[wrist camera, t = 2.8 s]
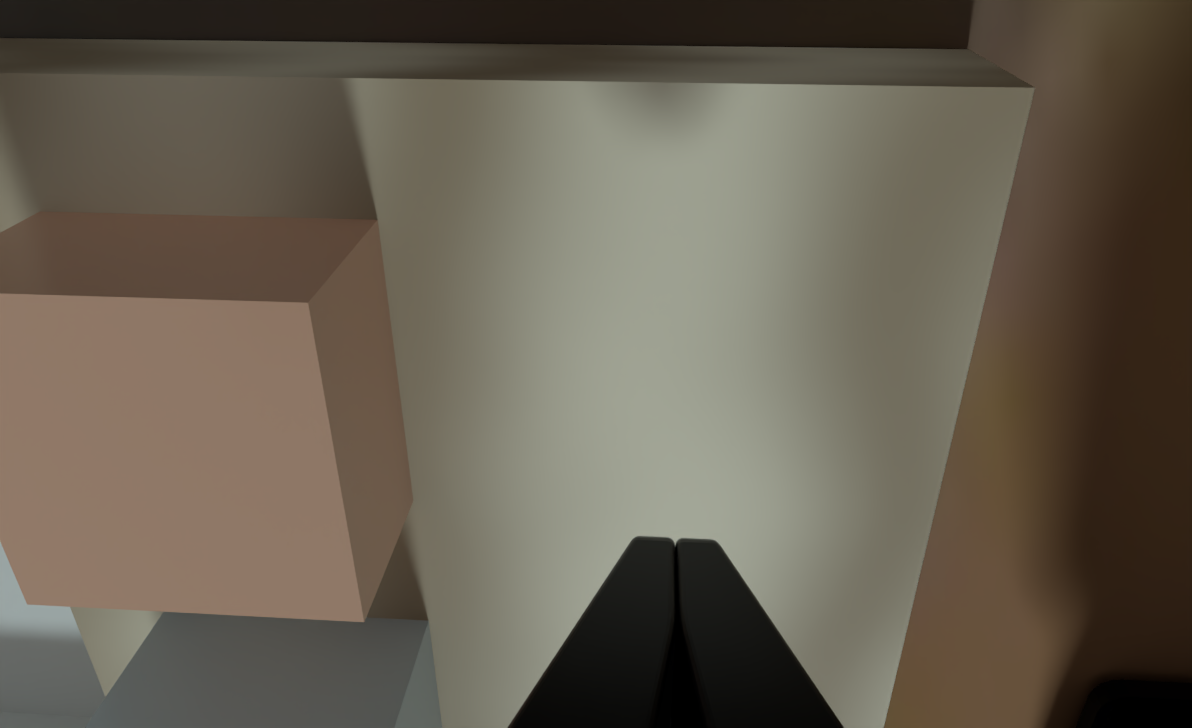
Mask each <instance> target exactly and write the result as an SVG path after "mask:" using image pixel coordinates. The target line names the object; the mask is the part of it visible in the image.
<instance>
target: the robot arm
mask: <svg viewBox="0 0 1192 728" xmlns="http://www.w3.org/2000/svg"><path fill="white" fill-rule="evenodd" d="M507 728H844V727H843V725H842V724H841V722H840V721H839V719H838V718H837V716H836V715H835V713H834V712H833V710H832V709H831V708H830V706H829V705H828V703H827V702H826V700H825V699H824V697H823V696H822V694H821V693H820V691H819V690H818V688H817V687H816V685H815V684H814V682H813V681H812V680H811V678H810V677H809V675H808V674H807V672H806V671H805V669H804V668H803V666H802V665H801V663H800V662H799V660H798V659H797V657H796V656H795V655H794V653H793V652H792V650H791V649H790V647H789V646H788V644H787V643H786V641H785V640H784V638H783V637H782V635H781V634H780V632H779V631H778V629H777V628H776V627H775V625H774V624H773V622H772V621H771V619H770V618H769V616H768V615H767V613H766V612H765V610H764V609H763V607H762V606H761V604H760V603H759V601H758V600H757V599H756V597H755V596H754V594H753V593H752V591H751V590H750V588H749V587H748V585H747V584H746V582H745V581H744V579H743V578H742V576H741V575H740V573H739V572H738V571H737V569H736V568H735V566H734V565H733V563H732V562H731V560H730V559H729V557H728V556H727V554H726V553H725V551H724V550H723V548H722V547H721V546H720V544H719V543H718V542H717V541H715V540H712V539H697V538H680V539H678V540H677V542H676V544H675V543H674V541H673V539H671V538H669V537H654V536H636V537H635V538H633V539H632V540H631V542H630V543H629V545H628V546H627V548H626V549H625V551H624V552H623V554H622V555H621V557H620V558H619V560H618V561H617V563H616V564H615V566H614V567H613V569H612V570H611V572H610V573H609V575H608V576H607V578H606V579H605V581H604V582H603V584H602V585H601V587H600V588H599V590H598V591H597V593H596V594H595V596H594V597H593V599H592V600H591V602H590V603H589V605H588V606H587V608H586V609H585V611H584V613H583V614H582V616H581V617H580V619H579V620H578V622H577V623H576V625H575V626H574V628H573V629H572V631H571V632H570V634H569V635H568V637H567V638H566V640H565V641H564V643H563V644H562V646H561V647H560V649H559V650H558V652H557V653H556V655H555V656H554V658H553V659H552V661H551V662H550V664H549V665H548V667H547V668H546V670H545V671H544V673H543V674H542V676H541V677H540V679H539V681H538V682H537V684H536V685H535V687H534V688H533V690H532V691H531V693H530V694H529V696H528V697H527V699H526V700H525V702H524V703H523V705H522V706H521V708H520V709H519V711H518V712H517V714H516V715H515V717H514V718H513V720H512V721H511V723H510V724H509V726H508V727H507ZM1076 728H1192V684H1190V683H1171V682H1153V681H1134V680H1113V681H1108V682H1105V683H1102V684H1100V685H1099V686H1097V687H1096V688H1094V689H1093V690H1092V692H1091V693H1090V694H1089V696H1088V698H1087V701H1086V703H1085V706H1084V708H1083V711H1082V713H1081V716H1080V718H1079V721H1078V724H1077V726H1076Z"/></svg>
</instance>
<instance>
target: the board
mask: <svg viewBox="0 0 1192 728" xmlns="http://www.w3.org/2000/svg"><path fill="white" fill-rule="evenodd" d="M1034 90H1035V87H1033V86H1031V85H1029V84H1028V83H1026V82H1024V81H1022V80H1021V79H1019V78H1017V77H1016V76H1014V75H1012V74H1010V73H1009V72H1007V71H1005V70H1003V69H1002V68H1000V67H998V66H997V65H995V64H993V63H991V62H990V61H988V60H986V59H984V58H983V57H981V56H979V55H977V54H976V53H974V52H972V51H971V50H969V49H900V48H814V47H728V46H642V45H555V44H469V43H383V42H296V41H210V40H124V39H38V38H0V233H1V232H3V231H4V230H6V229H8V228H10V227H12V226H14V225H16V224H17V223H19V222H21V221H23V220H25V219H27V218H29V217H30V216H32V215H34V214H36V213H38V212H40V211H41V212H82V213H124V214H165V215H207V216H248V217H289V218H331V219H372V220H378V226H379V234H380V242H381V250H382V258H383V265H384V273H385V281H386V289H387V297H388V305H389V313H390V321H391V328H392V336H393V344H394V352H395V360H396V368H397V376H398V384H399V391H400V399H401V407H402V415H403V423H404V431H405V439H406V446H407V454H408V462H409V470H410V478H411V486H412V494H413V503H412V506H411V508H410V510H409V513H408V515H407V518H406V520H405V523H404V525H403V528H402V530H401V533H400V535H399V538H398V540H397V543H396V545H395V548H394V550H393V553H392V555H391V557H390V560H389V562H388V565H387V567H386V570H385V572H384V575H383V577H382V580H381V582H380V585H379V587H378V590H377V592H376V595H375V597H374V600H373V602H372V604H371V607H370V609H369V612H368V614H367V617H369V618H388V619H407V620H426V621H429V627H430V635H431V643H432V651H433V659H434V667H435V675H436V683H437V690H438V698H439V706H440V714H441V722H442V728H507V727H508V726H509V724H510V723H511V721H512V720H513V718H514V717H515V715H516V714H517V712H518V711H519V709H520V708H521V706H522V705H523V703H524V702H525V700H526V699H527V697H528V696H529V694H530V693H531V691H532V690H533V688H534V687H535V685H536V684H537V682H538V681H539V679H540V677H541V676H542V674H543V673H544V671H545V670H546V668H547V667H548V665H549V664H550V662H551V661H552V659H553V658H554V656H555V655H556V653H557V652H558V650H559V649H560V647H561V646H562V644H563V643H564V641H565V640H566V638H567V637H568V635H569V634H570V632H571V631H572V629H573V628H574V626H575V625H576V623H577V622H578V620H579V619H580V617H581V616H582V614H583V613H584V611H585V609H586V608H587V606H588V605H589V603H590V602H591V600H592V599H593V597H594V596H595V594H596V593H597V591H598V590H599V588H600V587H601V585H602V584H603V582H604V581H605V579H606V578H607V576H608V575H609V573H610V572H611V570H612V569H613V567H614V566H615V564H616V563H617V561H618V560H619V558H620V557H621V555H622V554H623V552H624V551H625V549H626V548H627V546H628V545H629V543H630V542H631V540H632V539H633V538H635V537H636V536H654V537H669V538H671V539H673V541H674V543H675V544H676V542H677V540H678V539H680V538H697V539H712V540H715V541H717V542H718V543H719V544H720V546H721V547H722V548H723V550H724V551H725V553H726V554H727V556H728V557H729V559H730V560H731V562H732V563H733V565H734V566H735V568H736V569H737V571H738V572H739V573H740V575H741V576H742V578H743V579H744V581H745V582H746V584H747V585H748V587H749V588H750V590H751V591H752V593H753V594H754V596H755V597H756V599H757V600H758V601H759V603H760V604H761V606H762V607H763V609H764V610H765V612H766V613H767V615H768V616H769V618H770V619H771V621H772V622H773V624H774V625H775V627H776V628H777V629H778V631H779V632H780V634H781V635H782V637H783V638H784V640H785V641H786V643H787V644H788V646H789V647H790V649H791V650H792V652H793V653H794V655H795V656H796V657H797V659H798V660H799V662H800V663H801V665H802V666H803V668H804V669H805V671H806V672H807V674H808V675H809V677H810V678H811V680H812V681H813V682H814V684H815V685H816V687H817V688H818V690H819V691H820V693H821V694H822V696H823V697H824V699H825V700H826V702H827V703H828V705H829V706H830V708H831V709H832V710H833V712H834V713H835V715H836V716H837V718H838V719H839V721H840V722H841V724H842V725H843V727H844V728H884V724H885V720H886V715H887V711H888V707H889V703H890V699H891V694H892V690H893V686H894V682H895V677H896V673H897V669H898V665H899V661H900V656H901V652H902V648H903V644H904V639H905V635H906V631H907V627H908V622H909V618H910V614H911V610H912V606H913V601H914V597H915V593H916V589H917V584H918V580H919V576H920V572H921V568H922V563H923V559H924V555H925V551H926V546H927V542H928V538H929V534H930V529H931V525H932V521H933V517H934V513H935V508H936V504H937V500H938V496H939V491H940V487H941V483H942V479H943V475H944V470H945V466H946V462H947V458H948V453H949V449H950V445H951V441H952V436H953V432H954V428H955V424H956V420H957V415H958V411H959V407H960V403H961V398H962V394H963V390H964V386H965V382H966V377H967V373H968V369H969V365H970V360H971V356H972V352H973V348H974V343H975V339H976V335H977V331H978V327H979V322H980V318H981V314H982V310H983V305H984V301H985V297H986V293H987V289H988V284H989V280H990V276H991V272H992V267H993V263H994V259H995V255H996V250H997V246H998V242H999V238H1000V234H1001V229H1002V225H1003V221H1004V217H1005V212H1006V208H1007V204H1008V200H1009V196H1010V191H1011V187H1012V183H1013V179H1014V174H1015V170H1016V166H1017V162H1018V157H1019V153H1020V149H1021V145H1022V141H1023V136H1024V132H1025V128H1026V124H1027V119H1028V115H1029V111H1030V107H1031V103H1032V98H1033V94H1034ZM70 608H71V611H72V613H73V616H74V618H75V621H76V624H77V626H78V629H79V631H80V634H81V636H82V639H83V641H84V644H85V646H86V649H87V651H88V654H89V656H90V659H91V662H92V664H93V667H94V669H95V672H96V674H97V677H98V679H99V682H100V684H101V687H102V689H103V692H104V695H105V697H106V696H107V694H108V693H109V691H110V690H111V688H112V687H113V685H114V684H115V682H116V681H117V680H118V678H119V677H120V675H121V674H122V672H123V671H124V669H125V668H126V666H127V665H128V663H129V662H130V660H131V659H132V658H133V656H134V655H135V653H136V652H137V650H138V649H139V647H140V646H141V644H142V643H143V641H144V640H145V639H146V637H147V636H148V634H149V633H150V631H151V630H152V628H153V627H154V625H155V624H156V622H157V621H158V619H159V618H160V617H161V615H162V614H163V612H160V611H141V610H122V609H103V608H84V607H70Z"/></svg>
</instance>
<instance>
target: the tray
mask: <svg viewBox="0 0 1192 728" xmlns="http://www.w3.org/2000/svg"><path fill="white" fill-rule="evenodd" d="M104 699H105V695H104V692H103V689H102V687H101V684H100V682H99V679H98V677H97V674H96V672H95V669H94V667H93V664H92V662H91V659H90V656H89V654H88V651H87V649H86V646H85V644H84V641H83V639H82V636H81V634H80V631H79V629H78V626H77V624H76V621H75V618H74V616H73V613H72V611H71V608H70V607H65V606H46V605H27V603H26V601H25V598H24V596H23V594H22V591H21V589H20V587H19V584H18V582H17V580H16V577H15V575H14V573H13V570H12V568H11V566H10V563H9V561H8V559H7V556H6V554H5V552H4V549H3V547H2V544H1V542H0V728H85V726H86V725H87V724H88V722H89V721H90V719H91V718H92V716H93V715H94V713H95V712H96V710H97V709H98V707H99V706H100V704H101V703H102V702H103V700H104Z"/></svg>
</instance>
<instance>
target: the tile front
mask: <svg viewBox="0 0 1192 728" xmlns="http://www.w3.org/2000/svg"><path fill="white" fill-rule="evenodd" d="M412 503H413V494H412V486H411V478H410V470H409V462H408V454H407V446H406V439H405V431H404V423H403V415H402V407H401V399H400V391H399V384H398V376H397V368H396V360H395V352H394V344H393V336H392V328H391V321H390V313H389V305H388V297H387V289H386V281H385V273H384V265H383V258H382V250H381V242H380V234H379V226H378V220H372V219H331V218H289V217H248V216H207V215H165V214H124V213H82V212H41V211H40V212H38V213H36V214H34V215H32V216H30V217H29V218H27V219H25V220H23V221H21V222H19V223H17V224H16V225H14V226H12V227H10V228H8V229H6V230H4V231H3V232H1V233H0V542H1V544H2V547H3V549H4V552H5V554H6V556H7V559H8V561H9V563H10V566H11V568H12V570H13V573H14V575H15V577H16V580H17V582H18V584H19V587H20V589H21V591H22V594H23V596H24V598H25V601H26V603H27V605H46V606H65V607H84V608H103V609H122V610H141V611H160V612H179V613H198V614H217V615H236V616H255V617H274V618H292V619H311V620H330V621H349V622H365V619H366V617H367V614H368V612H369V609H370V607H371V604H372V602H373V600H374V597H375V595H376V592H377V590H378V587H379V585H380V582H381V580H382V577H383V575H384V572H385V570H386V567H387V565H388V562H389V560H390V557H391V555H392V553H393V550H394V548H395V545H396V543H397V540H398V538H399V535H400V533H401V530H402V528H403V525H404V523H405V520H406V518H407V515H408V513H409V510H410V508H411V506H412Z"/></svg>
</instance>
